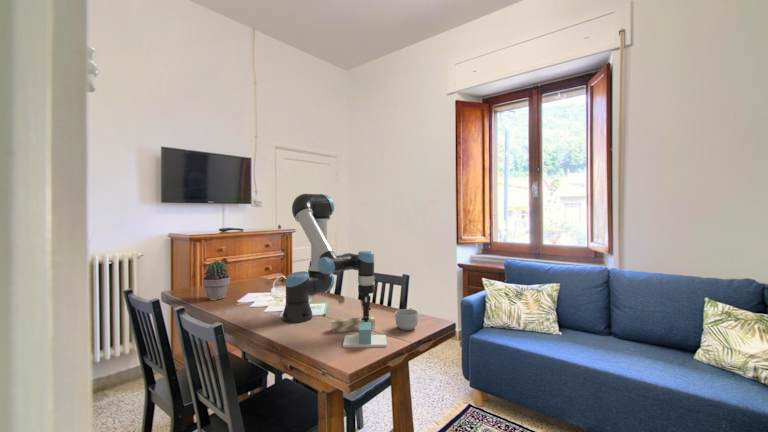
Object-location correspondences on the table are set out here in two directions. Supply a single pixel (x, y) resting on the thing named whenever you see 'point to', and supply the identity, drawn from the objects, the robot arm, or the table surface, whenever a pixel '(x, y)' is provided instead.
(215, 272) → the potted plant
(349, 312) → the table surface
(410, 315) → the teacup
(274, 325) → the table surface
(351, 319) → the beige mottled long block
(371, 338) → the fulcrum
